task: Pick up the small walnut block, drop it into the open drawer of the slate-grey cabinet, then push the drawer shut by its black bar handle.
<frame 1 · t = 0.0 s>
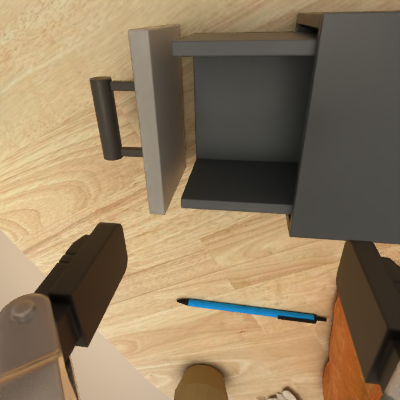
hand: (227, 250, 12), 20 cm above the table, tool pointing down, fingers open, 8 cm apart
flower: (279, 397, 50), on the table
pen: (248, 306, 41), on the table
cabinet: (375, 103, 27), on the table
squeeze bottle: (204, 373, 50), on the table
drawer: (215, 118, 24), point 5 cm above the table, slide at 9.0 cm
bread: (389, 342, 41), on the table
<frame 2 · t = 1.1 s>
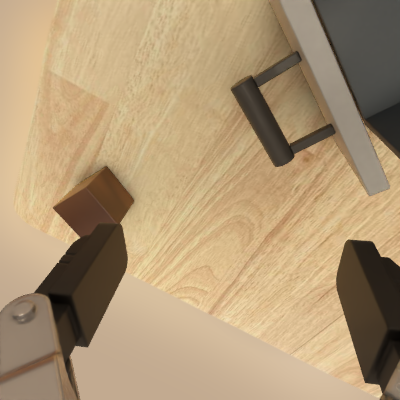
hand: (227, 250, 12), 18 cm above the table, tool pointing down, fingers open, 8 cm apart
block: (105, 193, 33), on the table
drawer: (389, 47, 18), point 5 cm above the table, slide at 9.0 cm
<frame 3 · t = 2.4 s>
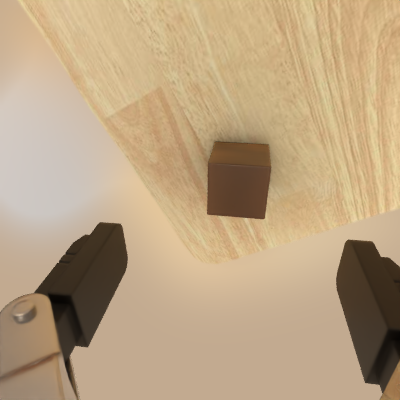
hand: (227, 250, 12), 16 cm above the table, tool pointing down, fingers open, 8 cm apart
block: (239, 167, 28), on the table
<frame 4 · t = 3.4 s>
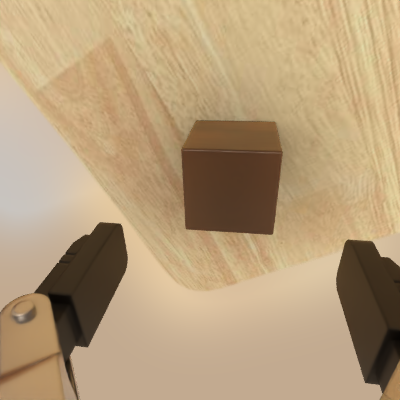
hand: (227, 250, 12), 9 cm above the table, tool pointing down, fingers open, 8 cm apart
block: (233, 157, 19), on the table
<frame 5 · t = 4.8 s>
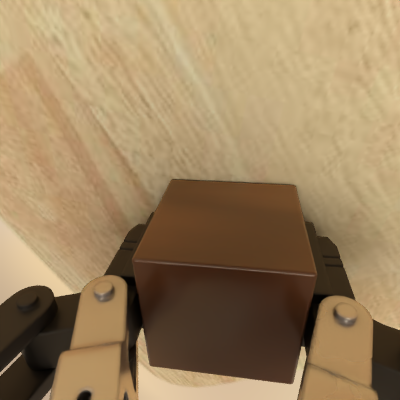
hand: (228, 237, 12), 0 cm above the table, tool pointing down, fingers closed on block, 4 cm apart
block: (229, 232, 13), on the table, touching gripper
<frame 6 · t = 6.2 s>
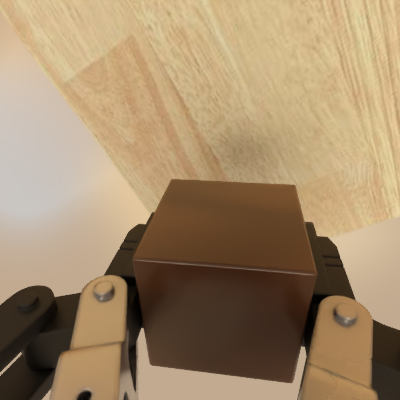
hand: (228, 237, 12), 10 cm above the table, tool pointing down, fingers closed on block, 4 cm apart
block: (230, 231, 13), point 10 cm above the table, touching gripper
when the fingers open (8 cm above the table, at t = 12.0 s): block drops 6 cm, resting on drawer.
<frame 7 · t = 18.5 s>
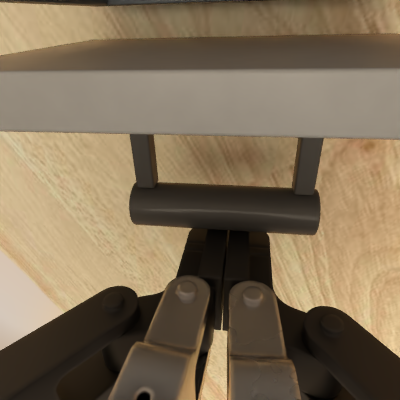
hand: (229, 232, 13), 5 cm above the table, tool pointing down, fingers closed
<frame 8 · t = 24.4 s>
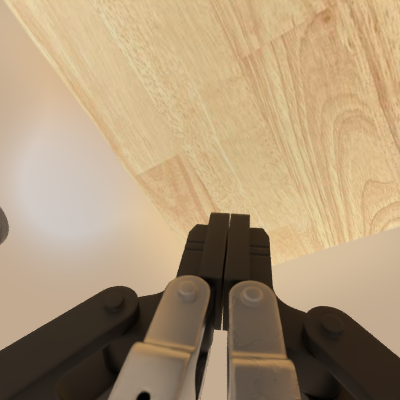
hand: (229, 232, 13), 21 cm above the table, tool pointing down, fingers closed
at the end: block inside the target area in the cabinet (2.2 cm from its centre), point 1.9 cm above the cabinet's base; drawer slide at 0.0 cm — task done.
